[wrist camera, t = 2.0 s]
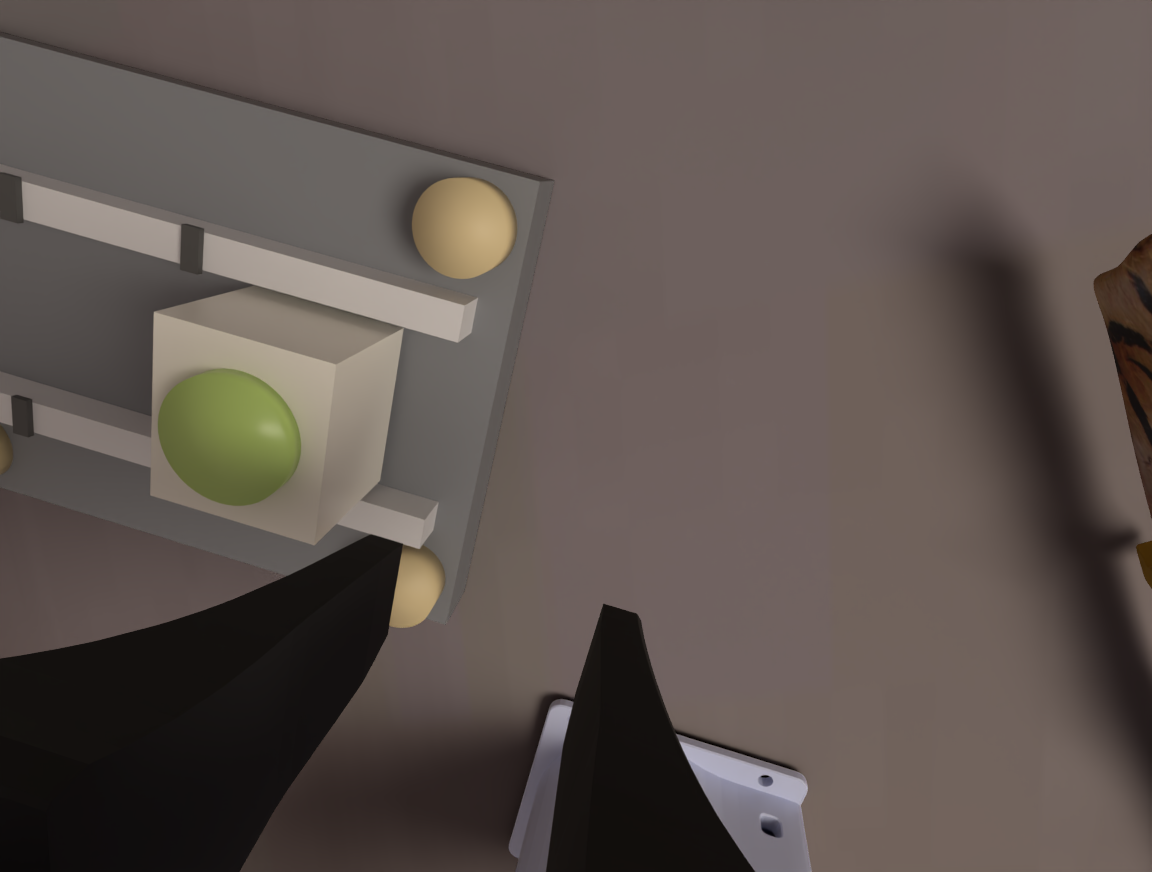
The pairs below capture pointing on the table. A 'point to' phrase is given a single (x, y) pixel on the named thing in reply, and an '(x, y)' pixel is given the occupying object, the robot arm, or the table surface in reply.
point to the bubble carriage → (270, 409)
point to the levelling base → (239, 260)
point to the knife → (1133, 357)
